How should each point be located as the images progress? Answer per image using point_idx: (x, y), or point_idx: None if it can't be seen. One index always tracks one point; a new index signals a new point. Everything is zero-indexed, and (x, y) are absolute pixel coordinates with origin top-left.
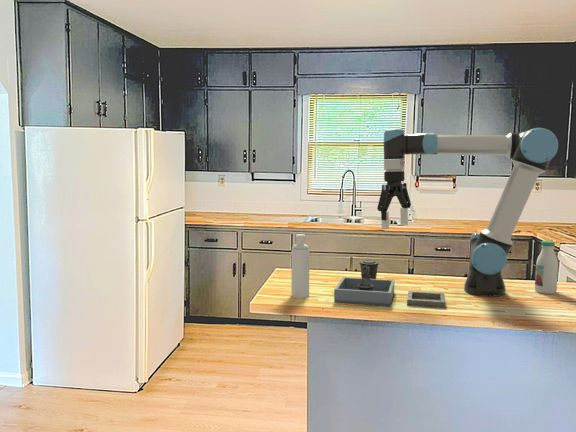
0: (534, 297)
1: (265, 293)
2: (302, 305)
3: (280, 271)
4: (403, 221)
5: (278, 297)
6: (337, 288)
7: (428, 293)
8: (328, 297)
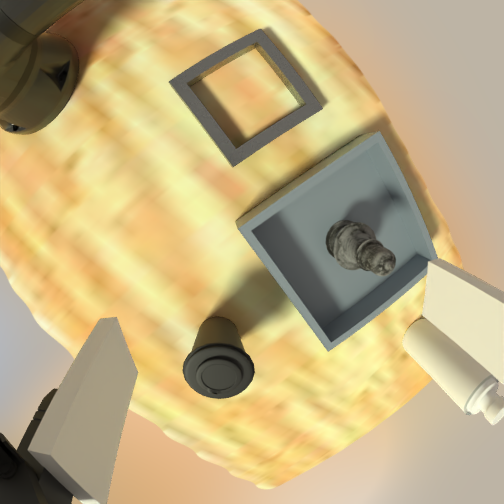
0: None
1: (430, 376)
2: None
3: (283, 480)
4: (120, 368)
5: None
6: None
7: (206, 109)
8: None
